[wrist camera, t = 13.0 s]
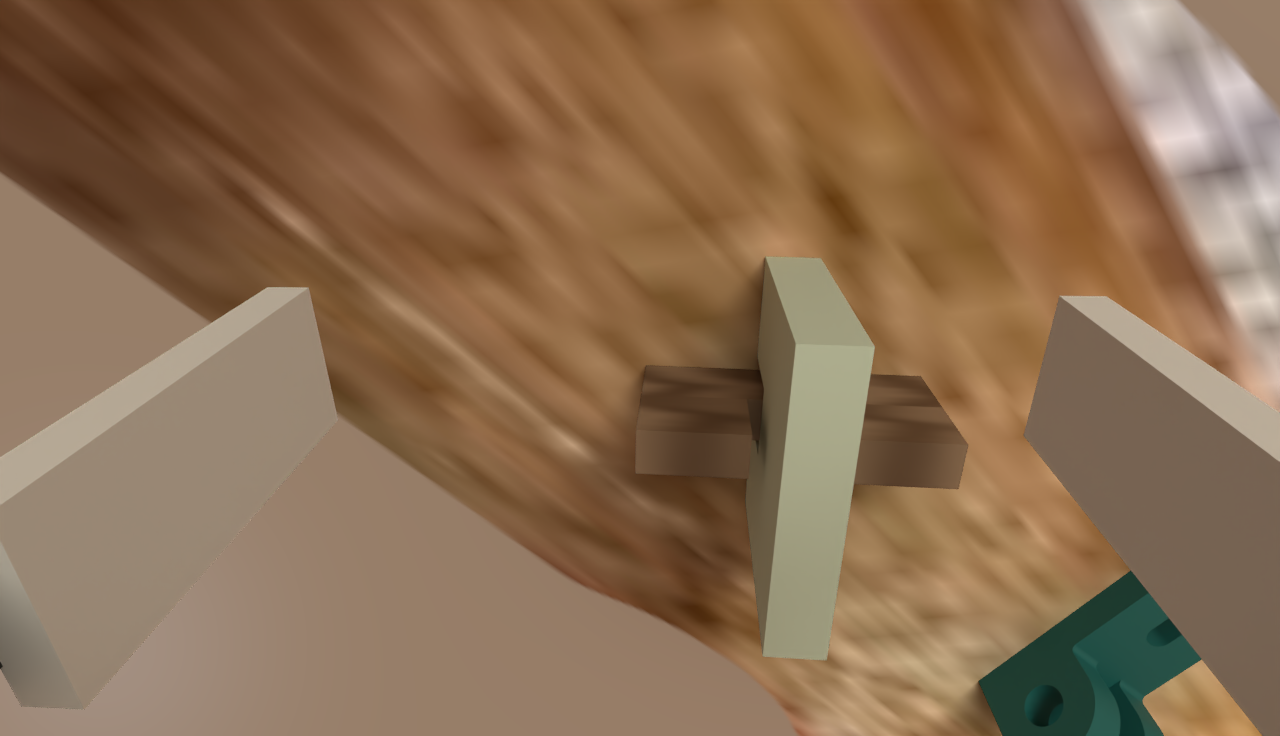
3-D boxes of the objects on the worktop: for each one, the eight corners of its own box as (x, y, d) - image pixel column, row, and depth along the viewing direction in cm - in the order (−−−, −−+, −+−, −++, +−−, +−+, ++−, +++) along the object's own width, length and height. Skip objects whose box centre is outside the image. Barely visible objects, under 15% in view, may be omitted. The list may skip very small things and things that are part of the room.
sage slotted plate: (792, 503, 46) (826, 660, 34) (745, 501, 46) (762, 656, 34) (820, 258, 40) (874, 346, 28) (765, 256, 40) (795, 343, 28)
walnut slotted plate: (645, 403, 44) (635, 473, 37) (646, 365, 43) (635, 430, 36) (913, 414, 43) (958, 489, 36) (920, 376, 42) (968, 444, 35)
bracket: (1043, 724, 52) (1098, 832, 45) (977, 678, 51) (1023, 781, 44) (1270, 573, 46) (1377, 669, 39) (1201, 516, 45) (1298, 605, 37)
